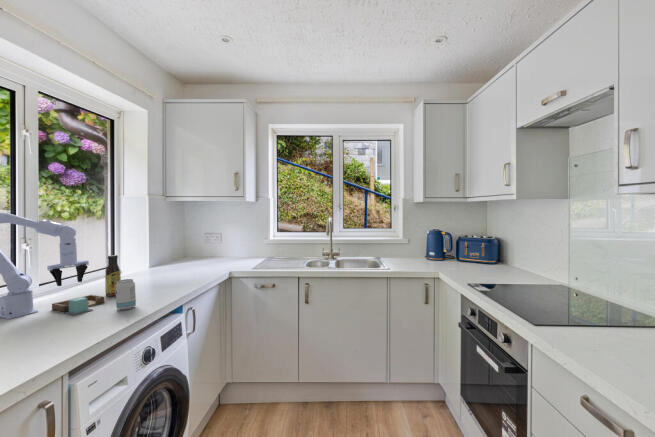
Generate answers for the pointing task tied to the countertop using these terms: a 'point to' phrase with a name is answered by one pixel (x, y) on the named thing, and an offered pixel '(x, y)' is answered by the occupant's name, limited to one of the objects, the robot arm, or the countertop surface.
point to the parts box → (64, 305)
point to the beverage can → (125, 294)
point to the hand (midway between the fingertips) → (69, 283)
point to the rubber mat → (78, 313)
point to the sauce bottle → (112, 276)
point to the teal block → (78, 305)
